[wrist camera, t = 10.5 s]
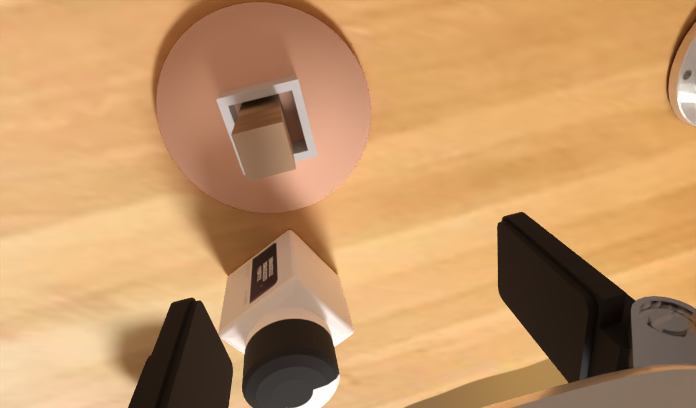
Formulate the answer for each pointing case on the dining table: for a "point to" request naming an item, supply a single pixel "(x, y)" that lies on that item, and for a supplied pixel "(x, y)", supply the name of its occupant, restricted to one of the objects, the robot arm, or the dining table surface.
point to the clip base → (257, 82)
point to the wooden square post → (263, 138)
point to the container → (286, 325)
